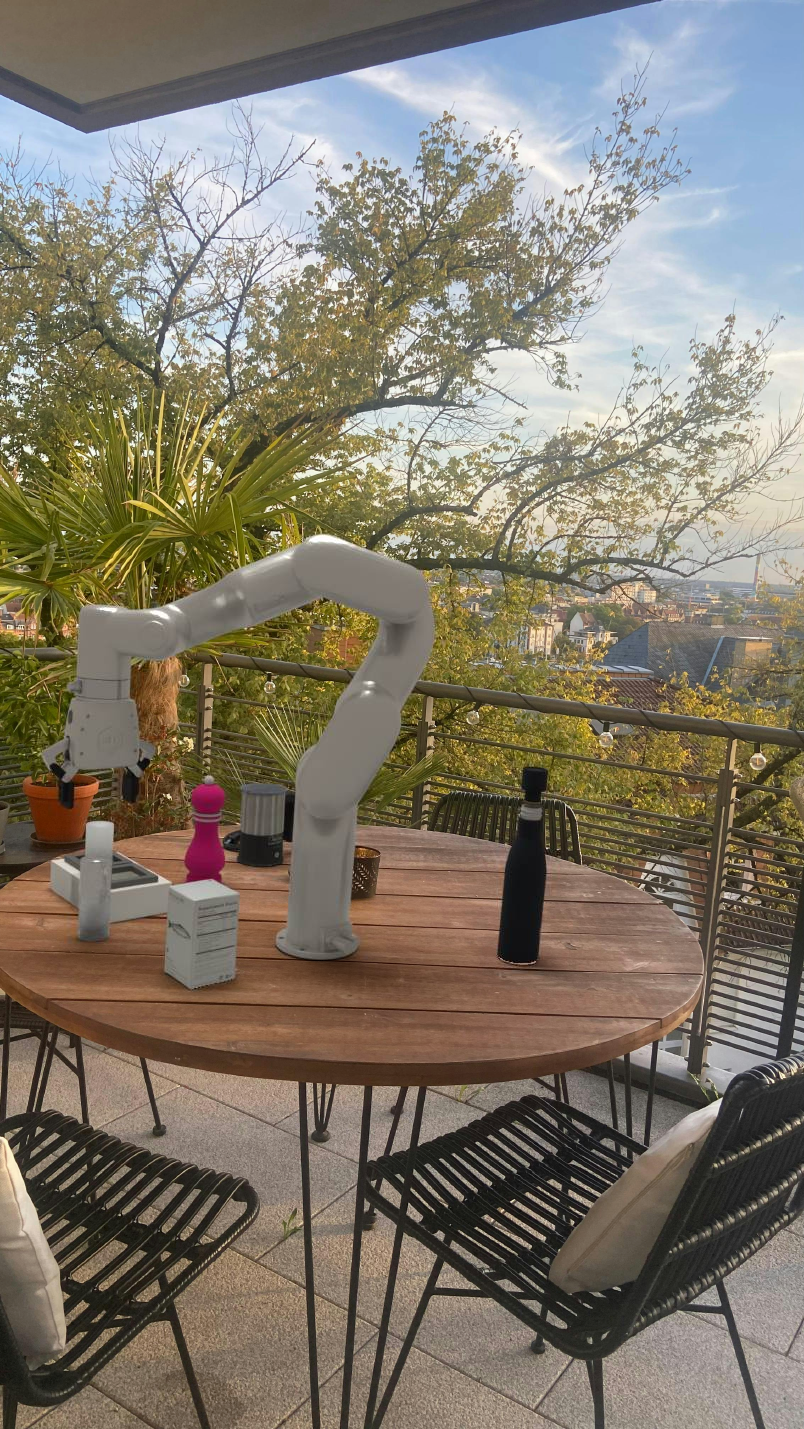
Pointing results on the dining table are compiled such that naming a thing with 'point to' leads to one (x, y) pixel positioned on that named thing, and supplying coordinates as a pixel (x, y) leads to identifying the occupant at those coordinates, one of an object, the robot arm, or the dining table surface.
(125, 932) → the dining table surface
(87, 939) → the peg
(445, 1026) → the dining table surface
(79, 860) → the socket block
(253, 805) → the milk frother
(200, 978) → the supplement box
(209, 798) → the pepper mill
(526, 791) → the dark water bottle
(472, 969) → the dining table surface
